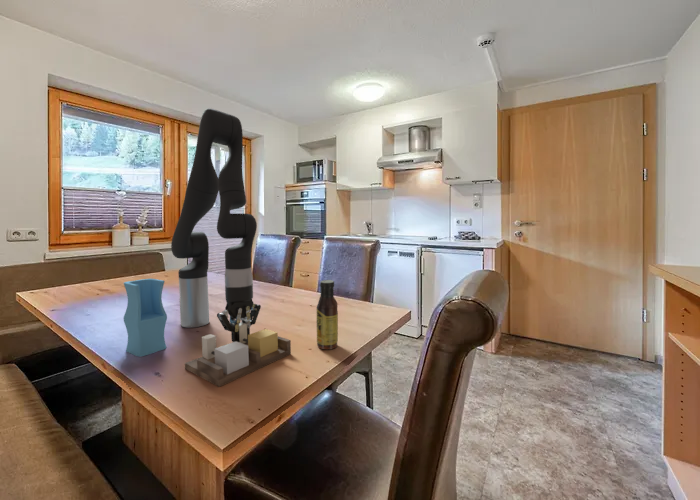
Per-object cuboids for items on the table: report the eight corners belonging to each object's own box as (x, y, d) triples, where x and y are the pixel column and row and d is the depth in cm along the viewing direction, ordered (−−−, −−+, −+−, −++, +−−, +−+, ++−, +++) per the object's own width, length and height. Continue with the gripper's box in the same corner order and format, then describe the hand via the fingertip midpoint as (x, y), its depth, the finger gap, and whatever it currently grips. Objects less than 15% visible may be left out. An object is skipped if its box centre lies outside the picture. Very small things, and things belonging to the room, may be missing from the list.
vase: (139, 357, 88) (135, 285, 86) (125, 351, 92) (121, 282, 90) (168, 347, 94) (164, 280, 93) (154, 342, 99) (150, 278, 97)
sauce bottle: (316, 342, 98) (316, 278, 96) (337, 342, 99) (337, 278, 97) (316, 351, 92) (315, 283, 90) (338, 350, 92) (338, 282, 90)
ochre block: (229, 345, 92) (228, 326, 92) (247, 339, 97) (246, 320, 96) (260, 357, 84) (259, 336, 84) (277, 350, 89) (277, 330, 88)
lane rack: (185, 368, 81) (184, 353, 81) (256, 342, 99) (256, 329, 99) (218, 386, 72) (218, 369, 72) (290, 353, 90) (290, 340, 90)
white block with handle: (196, 359, 83) (195, 338, 83) (217, 351, 88) (216, 332, 87) (227, 374, 75) (226, 351, 75) (248, 365, 80) (248, 343, 79)
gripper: (251, 278, 100) (252, 332, 102) (209, 285, 89) (211, 346, 90) (267, 281, 96) (268, 337, 97) (224, 289, 84) (227, 352, 86)
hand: (240, 341), depth 94 cm, fingers closed on ochre block, 2 cm apart
